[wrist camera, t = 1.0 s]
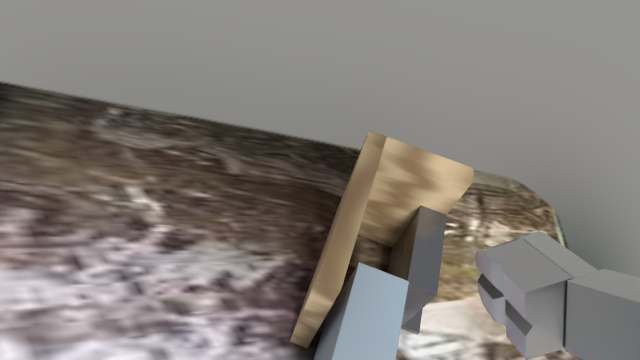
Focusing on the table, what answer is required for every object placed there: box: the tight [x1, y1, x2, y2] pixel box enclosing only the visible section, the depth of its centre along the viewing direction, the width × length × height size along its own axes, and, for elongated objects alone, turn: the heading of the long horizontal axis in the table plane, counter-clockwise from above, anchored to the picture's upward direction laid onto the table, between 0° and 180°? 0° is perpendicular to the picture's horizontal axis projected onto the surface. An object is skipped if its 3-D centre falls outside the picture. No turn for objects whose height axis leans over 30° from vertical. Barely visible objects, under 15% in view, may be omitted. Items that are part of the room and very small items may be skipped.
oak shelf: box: [290, 130, 474, 349], centre depth 40 cm, size 12×18×16 cm, turn 162°
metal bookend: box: [386, 205, 446, 334], centre depth 44 cm, size 5×10×10 cm, turn 162°
